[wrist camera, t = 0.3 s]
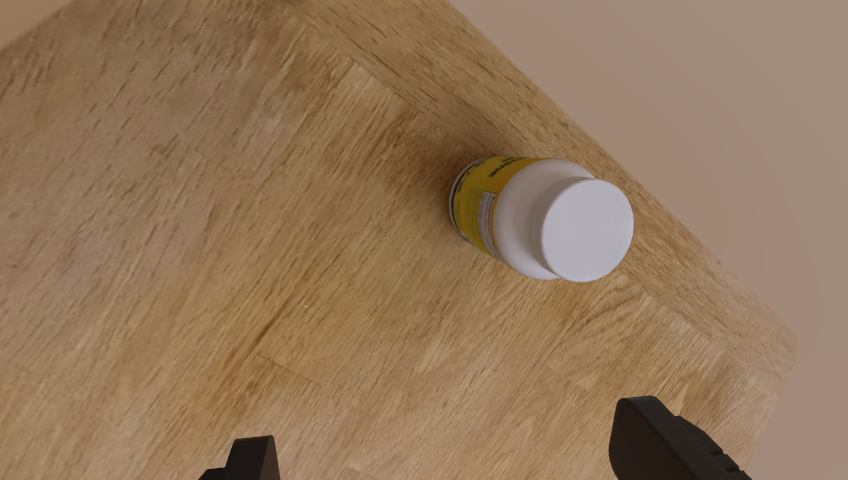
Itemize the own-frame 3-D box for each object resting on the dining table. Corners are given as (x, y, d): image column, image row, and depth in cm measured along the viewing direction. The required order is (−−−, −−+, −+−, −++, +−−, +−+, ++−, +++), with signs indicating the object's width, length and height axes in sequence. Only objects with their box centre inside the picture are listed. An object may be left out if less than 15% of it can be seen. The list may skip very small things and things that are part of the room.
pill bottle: (533, 155, 30) (658, 160, 19) (528, 243, 31) (642, 293, 21) (446, 154, 28) (530, 160, 18) (444, 248, 29) (522, 305, 19)
